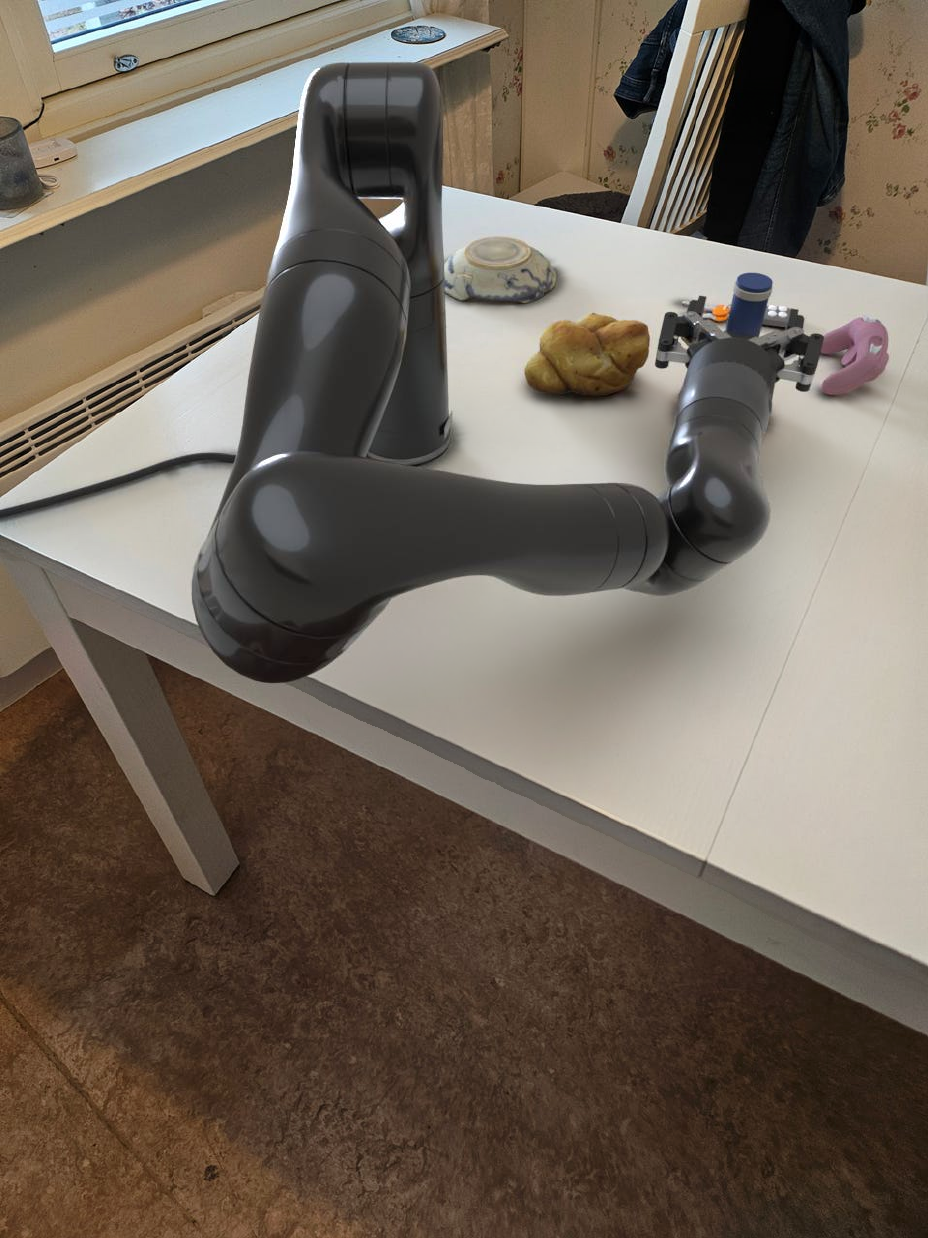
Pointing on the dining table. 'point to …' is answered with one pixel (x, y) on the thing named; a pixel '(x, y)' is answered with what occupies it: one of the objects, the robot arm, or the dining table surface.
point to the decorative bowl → (498, 271)
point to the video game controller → (856, 354)
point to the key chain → (771, 317)
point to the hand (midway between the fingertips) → (746, 311)
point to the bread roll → (588, 356)
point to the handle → (749, 303)
